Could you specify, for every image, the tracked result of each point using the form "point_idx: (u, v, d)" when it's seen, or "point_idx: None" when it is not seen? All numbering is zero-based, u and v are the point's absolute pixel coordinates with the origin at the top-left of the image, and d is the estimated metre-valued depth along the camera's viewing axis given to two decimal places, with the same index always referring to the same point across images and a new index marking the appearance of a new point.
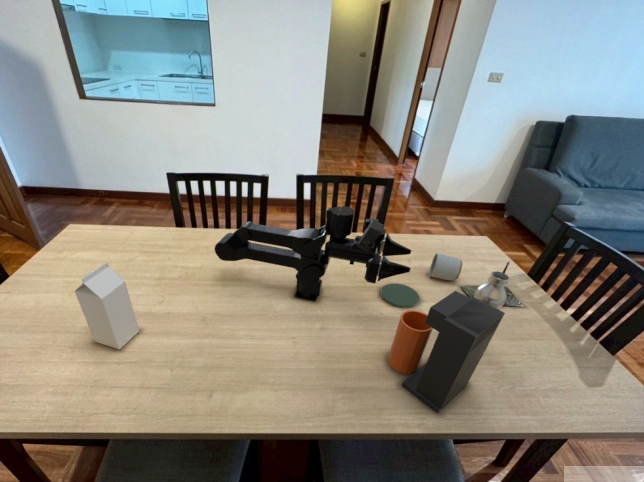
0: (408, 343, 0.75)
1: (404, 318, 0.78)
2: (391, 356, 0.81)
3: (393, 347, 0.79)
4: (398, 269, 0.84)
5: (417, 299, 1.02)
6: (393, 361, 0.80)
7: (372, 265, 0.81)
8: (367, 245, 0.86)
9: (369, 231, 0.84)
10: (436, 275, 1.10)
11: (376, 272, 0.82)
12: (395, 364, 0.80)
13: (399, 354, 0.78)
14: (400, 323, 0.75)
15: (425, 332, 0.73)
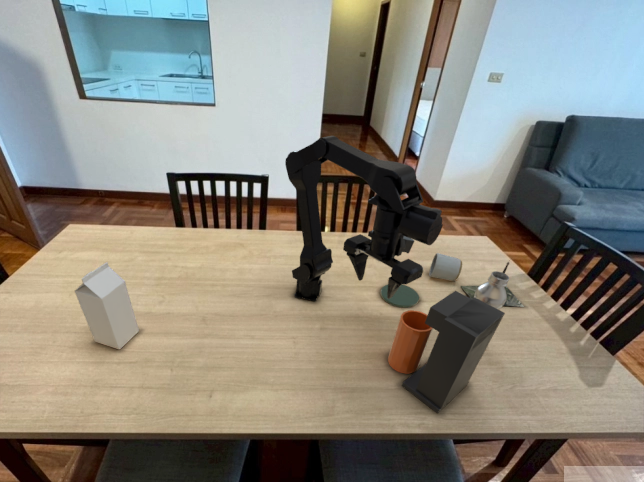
0: (408, 343, 0.75)
1: (404, 318, 0.78)
2: (391, 356, 0.81)
3: (393, 347, 0.79)
4: (395, 290, 0.79)
5: (417, 299, 1.02)
6: (393, 361, 0.80)
7: (421, 271, 0.74)
8: (403, 248, 0.77)
9: (412, 242, 0.79)
10: (436, 275, 1.10)
11: (415, 278, 0.74)
12: (395, 364, 0.80)
13: (399, 354, 0.78)
14: (400, 323, 0.75)
15: (425, 332, 0.73)
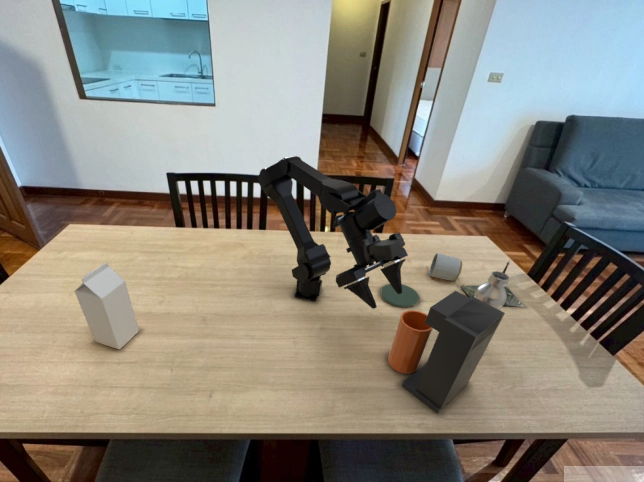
0: (408, 343, 0.75)
1: (404, 318, 0.78)
2: (391, 356, 0.81)
3: (393, 347, 0.79)
4: (366, 298, 0.76)
5: (417, 299, 1.02)
6: (393, 361, 0.80)
7: (348, 275, 0.73)
8: (370, 254, 0.75)
9: (382, 247, 0.72)
10: (436, 275, 1.10)
11: (346, 283, 0.74)
12: (395, 364, 0.80)
13: (399, 354, 0.78)
14: (400, 323, 0.75)
15: (425, 332, 0.73)
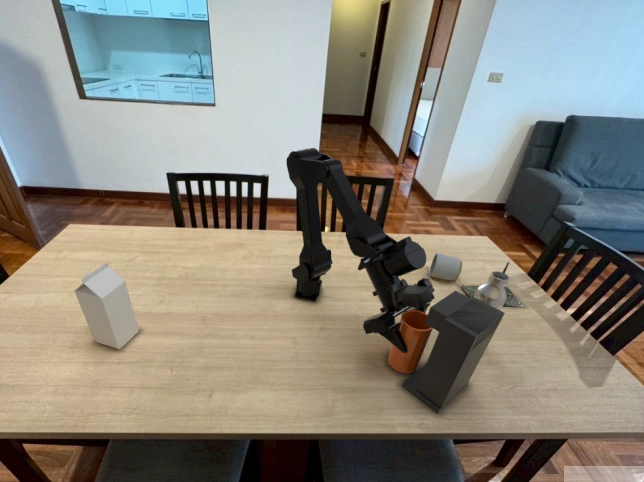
0: (408, 342, 0.75)
1: (405, 318, 0.78)
2: (391, 356, 0.81)
3: (393, 347, 0.79)
4: (397, 343, 0.75)
5: None
6: (393, 361, 0.80)
7: (378, 324, 0.71)
8: (398, 301, 0.74)
9: (412, 295, 0.71)
10: (436, 275, 1.10)
11: (375, 330, 0.73)
12: (395, 364, 0.80)
13: (399, 354, 0.78)
14: (401, 322, 0.75)
15: (425, 332, 0.73)
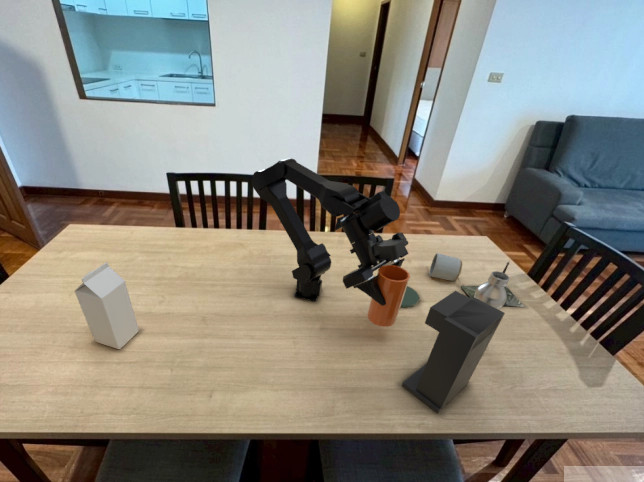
0: (386, 295, 0.79)
1: (381, 272, 0.82)
2: (370, 311, 0.84)
3: (372, 302, 0.83)
4: (376, 296, 0.79)
5: (417, 299, 1.02)
6: (372, 315, 0.84)
7: (357, 276, 0.74)
8: (375, 255, 0.77)
9: (388, 247, 0.74)
10: (436, 275, 1.10)
11: (354, 283, 0.76)
12: (374, 318, 0.84)
13: (378, 307, 0.81)
14: None
15: (402, 282, 0.76)
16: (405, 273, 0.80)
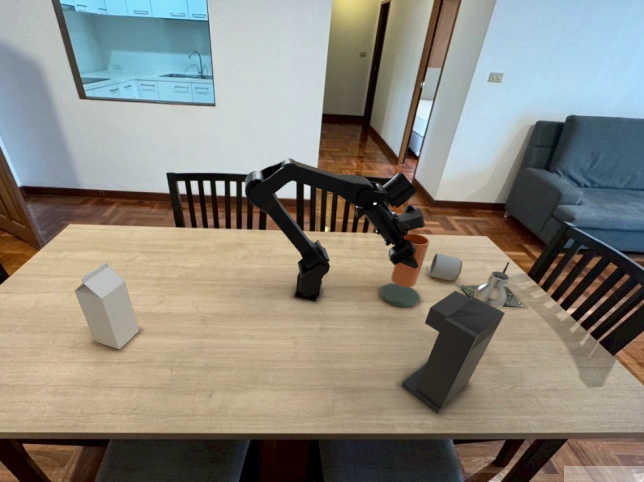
0: (418, 258, 0.92)
1: None
2: (401, 277, 0.97)
3: (402, 269, 0.95)
4: (412, 262, 0.92)
5: (417, 299, 1.02)
6: (404, 280, 0.97)
7: (409, 250, 0.85)
8: (405, 228, 0.88)
9: (417, 219, 0.87)
10: (436, 275, 1.10)
11: (405, 257, 0.86)
12: (406, 282, 0.97)
13: (410, 271, 0.95)
14: None
15: (428, 243, 0.92)
16: (419, 236, 0.95)
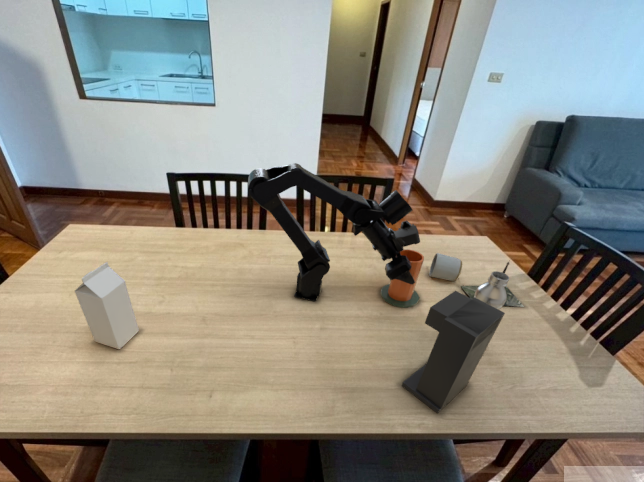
0: (413, 274, 0.95)
1: None
2: (397, 292, 1.00)
3: (398, 284, 0.98)
4: (409, 278, 0.94)
5: (417, 299, 1.02)
6: (400, 295, 1.00)
7: (404, 266, 0.88)
8: (401, 244, 0.91)
9: (413, 235, 0.90)
10: (436, 275, 1.10)
11: (401, 273, 0.89)
12: (402, 296, 1.00)
13: (406, 287, 0.98)
14: None
15: (423, 260, 0.95)
16: (414, 252, 0.98)
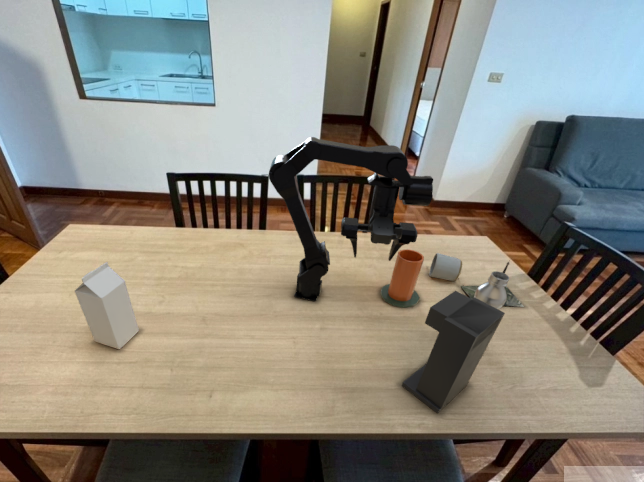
0: (413, 274, 0.95)
1: None
2: (397, 292, 1.00)
3: (398, 284, 0.98)
4: None
5: (417, 299, 1.02)
6: (400, 295, 1.00)
7: (341, 228, 0.89)
8: (370, 225, 0.86)
9: (372, 231, 0.83)
10: (436, 275, 1.10)
11: (341, 229, 0.91)
12: (402, 296, 1.00)
13: (406, 287, 0.98)
14: (403, 262, 0.94)
15: (423, 260, 0.95)
16: (414, 252, 0.98)
